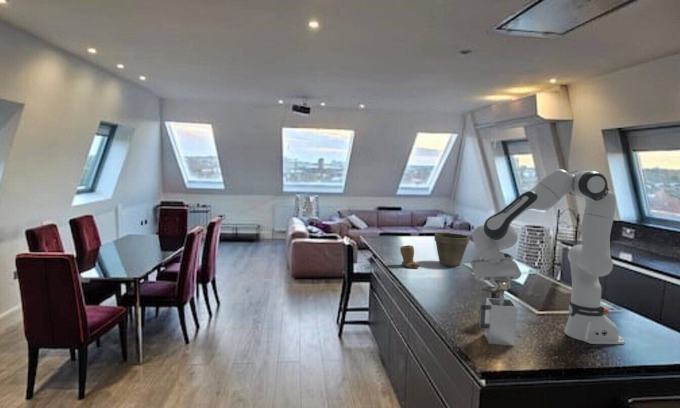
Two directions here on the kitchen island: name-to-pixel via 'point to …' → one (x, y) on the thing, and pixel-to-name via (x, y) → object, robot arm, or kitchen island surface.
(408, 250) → the brown boot
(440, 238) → the plant pot
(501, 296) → the plunger
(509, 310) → the press
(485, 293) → the coffee box
